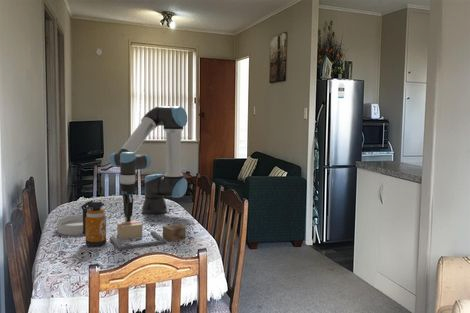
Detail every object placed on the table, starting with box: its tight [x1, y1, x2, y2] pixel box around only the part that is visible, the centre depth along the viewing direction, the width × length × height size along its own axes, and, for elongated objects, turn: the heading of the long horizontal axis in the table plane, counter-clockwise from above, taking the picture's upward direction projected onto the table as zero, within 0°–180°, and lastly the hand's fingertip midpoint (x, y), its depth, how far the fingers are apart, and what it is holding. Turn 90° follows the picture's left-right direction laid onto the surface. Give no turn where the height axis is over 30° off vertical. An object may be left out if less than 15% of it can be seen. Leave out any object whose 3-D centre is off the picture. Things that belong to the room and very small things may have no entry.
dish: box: [56, 214, 83, 236], centre depth 209 cm, size 22×22×5 cm
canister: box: [80, 200, 107, 247], centre depth 185 cm, size 9×11×20 cm
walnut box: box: [162, 223, 187, 243], centre depth 196 cm, size 8×8×6 cm
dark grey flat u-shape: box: [109, 230, 167, 251], centre depth 191 cm, size 22×18×1 cm
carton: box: [116, 220, 143, 240], centre depth 199 cm, size 10×8×6 cm
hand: (127, 228), depth 205 cm, fingers closed
